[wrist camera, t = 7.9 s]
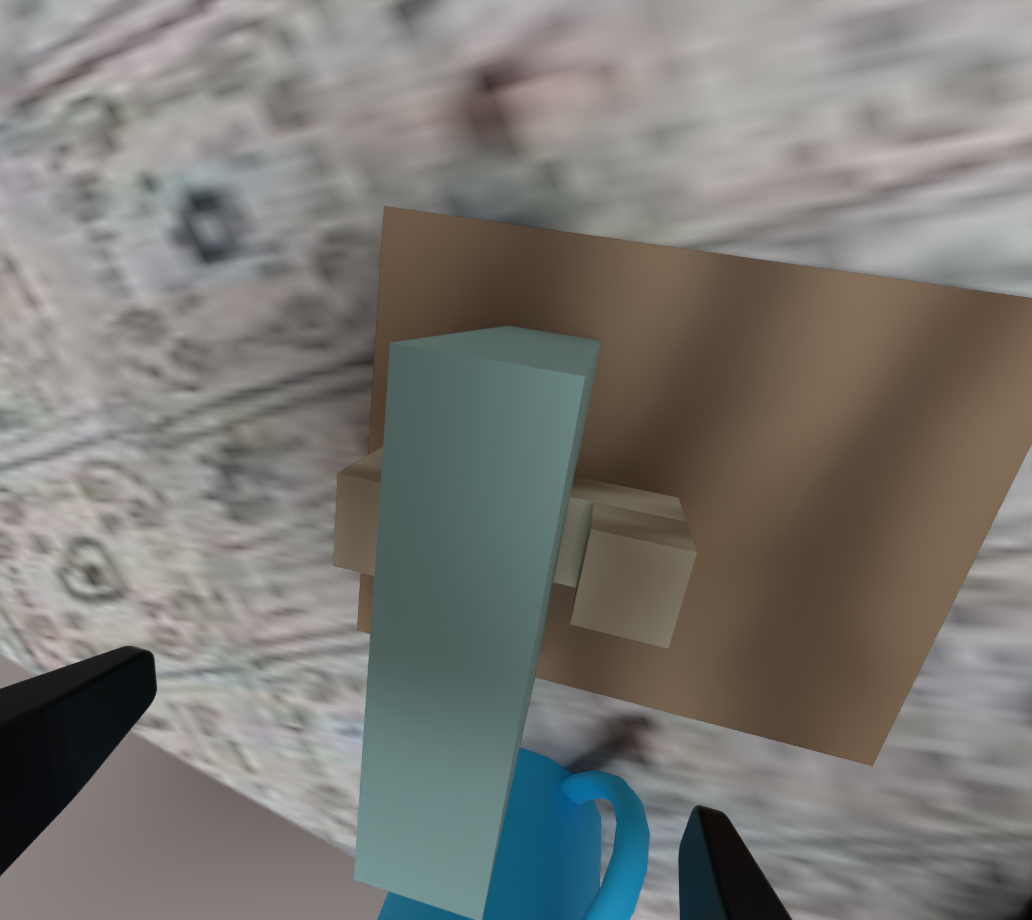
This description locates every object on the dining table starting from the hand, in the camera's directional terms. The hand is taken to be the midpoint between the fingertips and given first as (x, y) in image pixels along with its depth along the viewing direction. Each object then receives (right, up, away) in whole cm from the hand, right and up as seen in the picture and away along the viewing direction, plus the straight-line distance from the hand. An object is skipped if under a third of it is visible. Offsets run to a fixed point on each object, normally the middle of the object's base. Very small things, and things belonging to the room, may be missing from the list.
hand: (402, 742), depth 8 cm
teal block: (+2, +3, +10) cm, 11 cm away
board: (+6, +3, +10) cm, 12 cm away
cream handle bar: (+2, +3, +10) cm, 11 cm away
